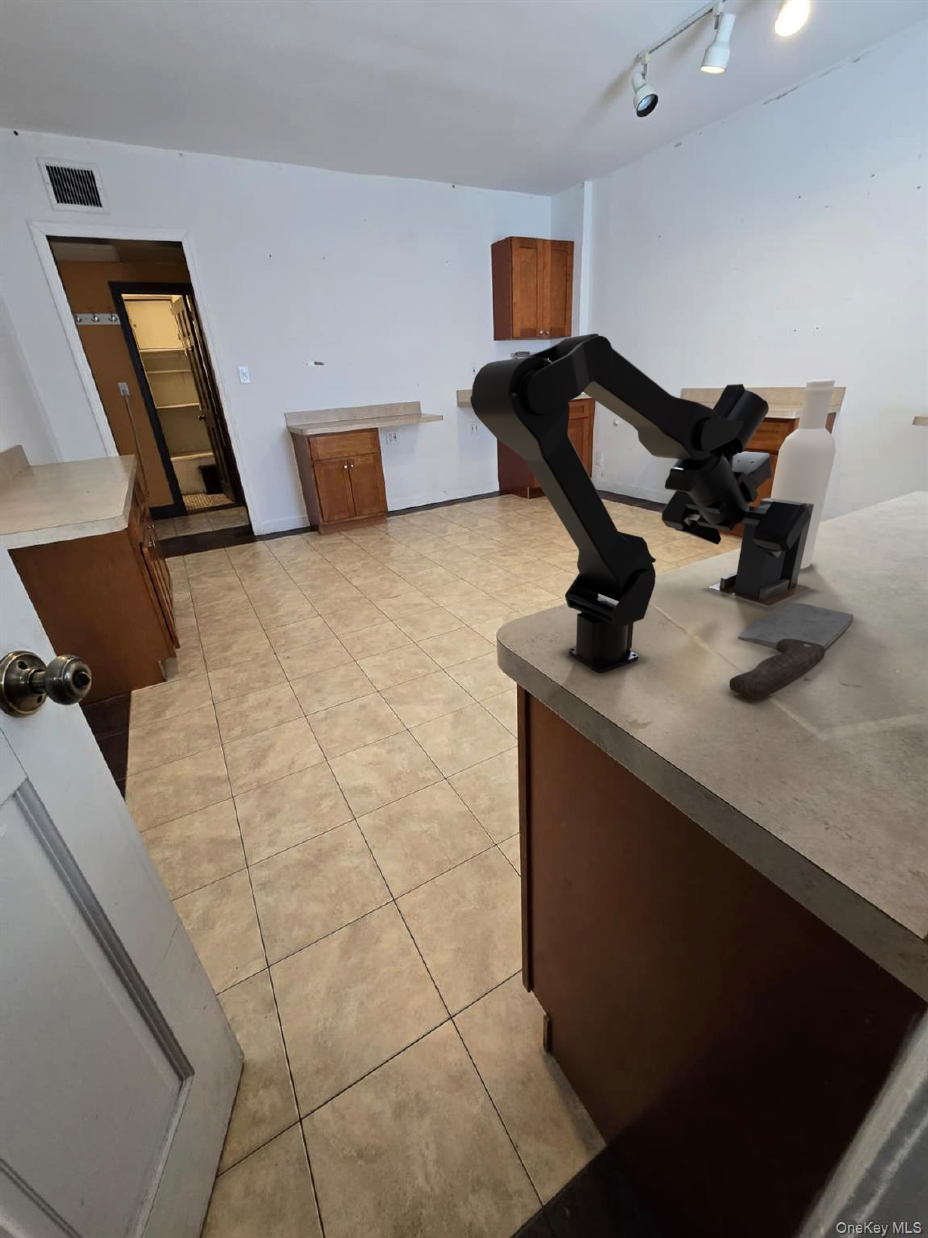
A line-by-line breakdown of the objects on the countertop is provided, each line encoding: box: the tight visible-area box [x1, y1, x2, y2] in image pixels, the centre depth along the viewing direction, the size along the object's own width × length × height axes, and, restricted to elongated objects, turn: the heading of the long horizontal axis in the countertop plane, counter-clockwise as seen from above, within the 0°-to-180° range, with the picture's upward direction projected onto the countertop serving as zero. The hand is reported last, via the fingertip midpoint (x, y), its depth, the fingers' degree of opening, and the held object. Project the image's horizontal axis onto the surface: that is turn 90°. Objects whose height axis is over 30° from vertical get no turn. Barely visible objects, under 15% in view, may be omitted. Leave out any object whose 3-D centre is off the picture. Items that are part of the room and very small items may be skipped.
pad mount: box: [708, 497, 814, 607], centre depth 79 cm, size 11×10×14 cm
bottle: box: [770, 378, 837, 570], centre depth 85 cm, size 8×8×30 cm
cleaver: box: [728, 602, 854, 699], centre depth 65 cm, size 29×10×2 cm, turn 133°
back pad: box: [734, 504, 786, 599], centre depth 78 cm, size 5×4×13 cm
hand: (747, 548), depth 76 cm, fingers open, 9 cm apart
